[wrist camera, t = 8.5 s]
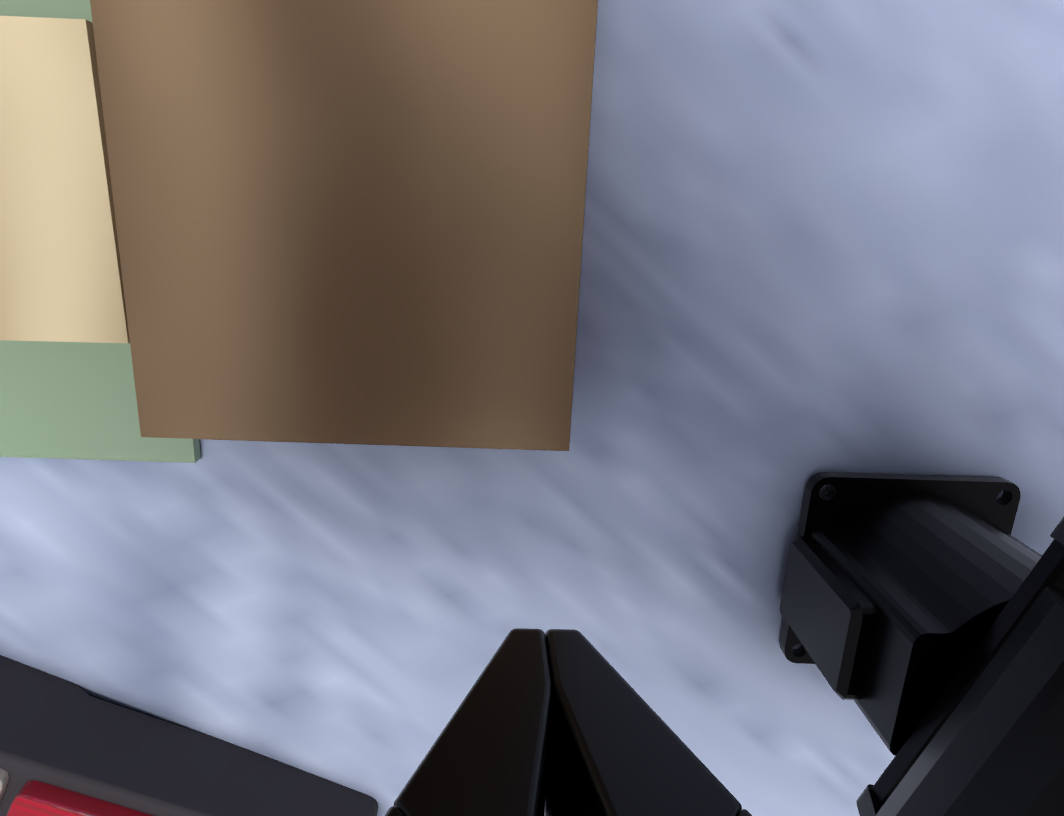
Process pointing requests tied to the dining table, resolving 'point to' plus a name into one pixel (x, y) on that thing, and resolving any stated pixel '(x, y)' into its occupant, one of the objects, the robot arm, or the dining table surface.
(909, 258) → the dining table surface
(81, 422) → the mat
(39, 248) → the birch tile
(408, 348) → the brown wooden block
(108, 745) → the calculator
